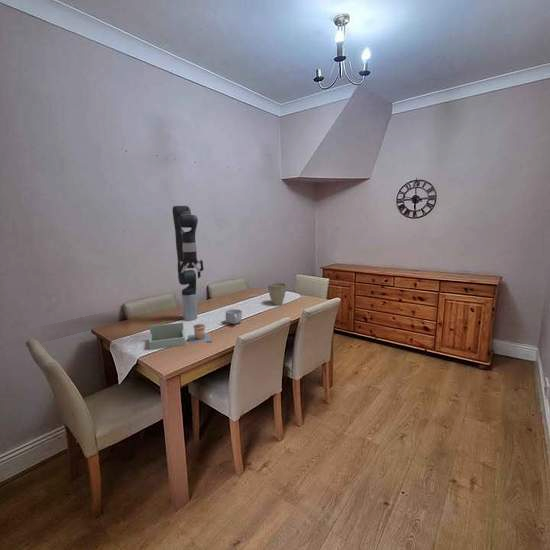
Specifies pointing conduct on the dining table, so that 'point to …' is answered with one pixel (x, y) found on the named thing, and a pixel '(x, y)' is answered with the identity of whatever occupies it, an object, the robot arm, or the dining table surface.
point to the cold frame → (166, 335)
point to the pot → (199, 331)
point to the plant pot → (277, 292)
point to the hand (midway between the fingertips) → (191, 278)
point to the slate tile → (193, 340)
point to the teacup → (233, 316)
